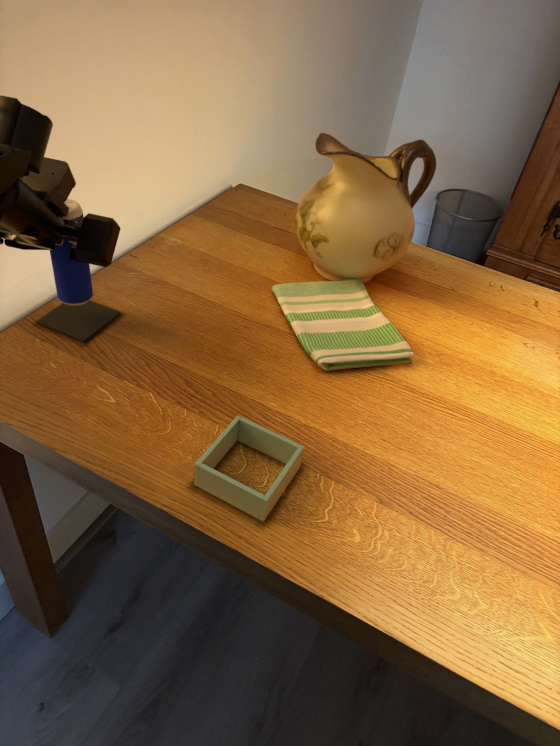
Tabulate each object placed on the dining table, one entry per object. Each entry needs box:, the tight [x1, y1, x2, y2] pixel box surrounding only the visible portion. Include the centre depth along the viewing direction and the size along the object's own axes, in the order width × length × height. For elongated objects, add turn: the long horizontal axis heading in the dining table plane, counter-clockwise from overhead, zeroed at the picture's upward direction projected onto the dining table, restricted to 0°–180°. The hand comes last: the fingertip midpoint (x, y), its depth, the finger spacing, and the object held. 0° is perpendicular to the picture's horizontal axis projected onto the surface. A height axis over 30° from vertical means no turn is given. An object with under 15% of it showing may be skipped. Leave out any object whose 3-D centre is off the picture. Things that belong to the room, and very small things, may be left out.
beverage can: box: [49, 198, 94, 306], centre depth 79 cm, size 5×5×15 cm
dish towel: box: [271, 278, 415, 372], centre depth 93 cm, size 18×23×3 cm
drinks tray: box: [193, 414, 305, 523], centre depth 66 cm, size 10×10×4 cm
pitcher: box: [294, 132, 437, 284], centre depth 102 cm, size 22×24×25 cm
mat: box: [36, 299, 121, 343], centre depth 87 cm, size 9×9×1 cm
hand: (73, 250), depth 80 cm, fingers closed on beverage can, 5 cm apart
